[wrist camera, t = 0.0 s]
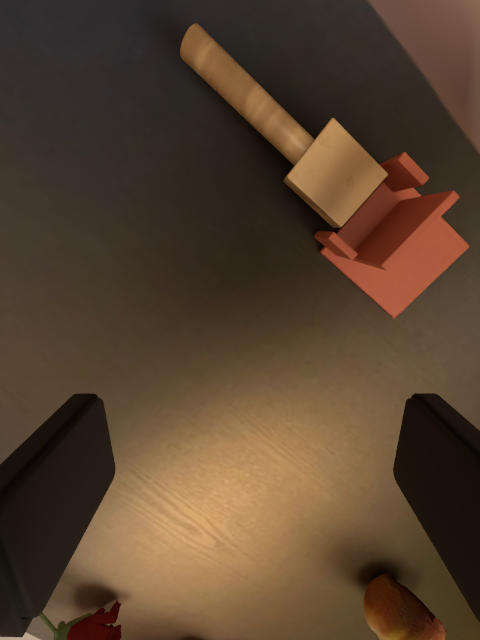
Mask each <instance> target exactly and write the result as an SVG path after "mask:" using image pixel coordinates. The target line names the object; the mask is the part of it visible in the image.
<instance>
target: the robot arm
mask: <svg viewBox="0 0 480 640" xmlns="http://www.w3.org/2000/svg"><path fill="white" fill-rule="evenodd" d="M393 473H394V477H395V480H396V482H397V484H398V486H399V488H400V489H401V491H402V493H403V494H404V496H405V498H406V499H407V501H408V503H409V505H410V506H411V508H412V510H413V511H414V513H415V515H416V516H417V518H418V520H419V521H420V523H421V525H422V527H423V528H424V530H425V532H426V533H427V535H428V537H429V538H430V540H431V542H432V543H433V545H434V547H435V549H436V550H437V552H438V554H439V555H440V557H441V559H442V560H443V562H444V564H445V566H446V567H447V569H448V571H449V572H450V574H451V576H452V577H453V579H454V581H455V582H456V584H457V586H458V588H459V589H460V591H461V593H462V594H463V596H464V598H465V599H466V601H467V603H468V605H469V606H470V608H471V610H472V611H473V613H474V615H475V616H476V618H477V619H478V621H479V622H480V431H479V430H478V429H477V428H476V427H474V426H473V425H472V424H471V423H470V422H469V421H468V420H466V419H465V418H464V417H463V416H462V415H461V414H460V413H458V412H457V411H456V410H455V409H454V408H453V407H451V406H450V405H449V404H448V403H447V402H446V401H445V400H443V399H442V398H441V397H440V396H439V395H437V394H413V395H412V397H411V398H409V399H407V401H406V404H405V409H404V415H403V420H402V425H401V430H400V436H399V441H398V446H397V452H396V457H395V462H394V468H393ZM114 475H115V462H114V457H113V452H112V446H111V441H110V436H109V430H108V425H107V420H106V414H105V409H104V403H103V400H102V399H100V398H98V396H97V395H96V394H74V395H73V396H72V397H70V398H69V399H68V400H67V401H66V402H65V403H64V404H63V405H62V406H61V407H60V408H59V409H58V410H57V411H56V412H55V413H54V414H53V415H52V416H51V417H50V418H49V419H47V420H46V421H45V422H44V423H43V424H42V425H41V426H40V427H39V428H38V429H37V430H36V431H35V432H34V433H33V434H32V435H31V436H30V437H29V438H28V439H27V440H26V441H24V442H23V443H22V444H21V445H20V446H19V447H18V448H17V449H16V450H15V451H14V452H13V453H12V454H11V455H10V456H9V457H8V458H7V459H6V460H5V461H4V462H3V463H2V464H0V637H23V635H24V633H25V632H26V630H27V628H28V626H29V624H30V623H31V621H32V619H33V618H35V617H37V616H39V615H40V613H41V612H42V611H43V609H44V608H45V606H46V604H47V602H48V600H49V599H50V597H51V595H52V593H53V591H54V589H55V587H56V585H57V584H58V582H59V580H60V578H61V576H62V574H63V572H64V570H65V569H66V567H67V565H68V563H69V561H70V559H71V557H72V555H73V554H74V552H75V550H76V548H77V546H78V544H79V542H80V540H81V539H82V537H83V535H84V533H85V531H86V529H87V527H88V525H89V524H90V522H91V520H92V518H93V516H94V514H95V512H96V510H97V509H98V507H99V505H100V503H101V501H102V499H103V497H104V495H105V494H106V492H107V490H108V488H109V486H110V484H111V482H112V480H113V478H114Z"/></svg>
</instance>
